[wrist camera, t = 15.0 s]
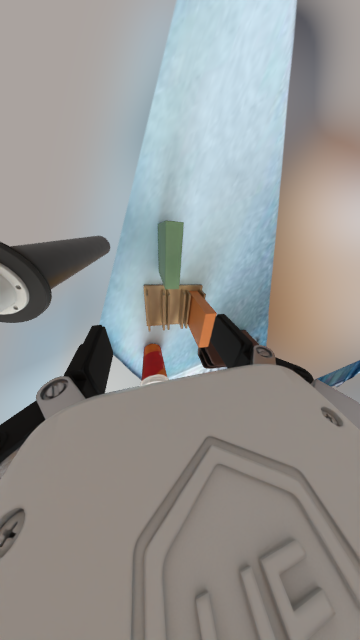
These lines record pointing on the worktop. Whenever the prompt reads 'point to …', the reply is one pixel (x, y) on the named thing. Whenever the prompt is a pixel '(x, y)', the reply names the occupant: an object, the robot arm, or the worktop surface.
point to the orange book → (200, 319)
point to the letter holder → (215, 354)
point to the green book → (170, 252)
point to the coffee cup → (153, 365)
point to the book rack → (168, 304)
